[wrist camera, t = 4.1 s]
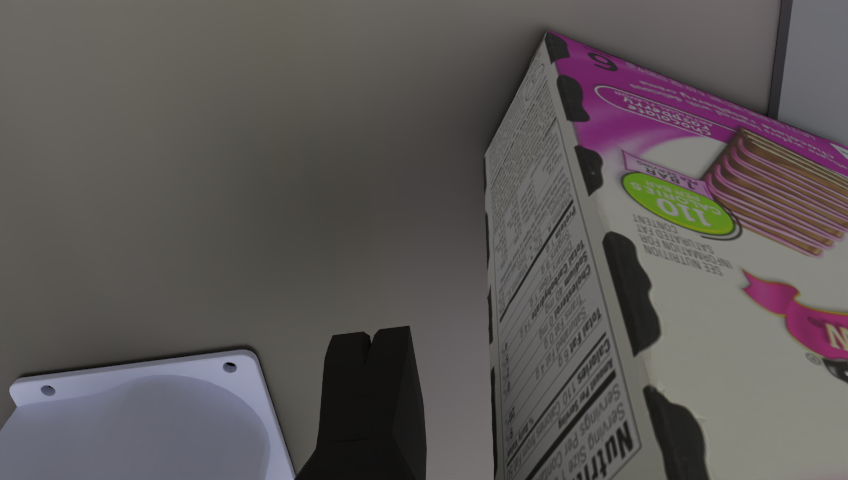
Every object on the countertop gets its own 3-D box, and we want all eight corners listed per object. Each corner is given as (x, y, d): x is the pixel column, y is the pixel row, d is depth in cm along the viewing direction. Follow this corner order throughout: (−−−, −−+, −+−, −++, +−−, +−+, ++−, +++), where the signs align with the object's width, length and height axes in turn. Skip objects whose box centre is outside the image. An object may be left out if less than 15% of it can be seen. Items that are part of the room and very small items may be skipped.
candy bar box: (869, 141, 21) (1585, 806, 8) (769, 260, 24) (1161, 901, 10) (541, 12, 19) (715, 577, 6) (475, 157, 22) (486, 766, 9)
